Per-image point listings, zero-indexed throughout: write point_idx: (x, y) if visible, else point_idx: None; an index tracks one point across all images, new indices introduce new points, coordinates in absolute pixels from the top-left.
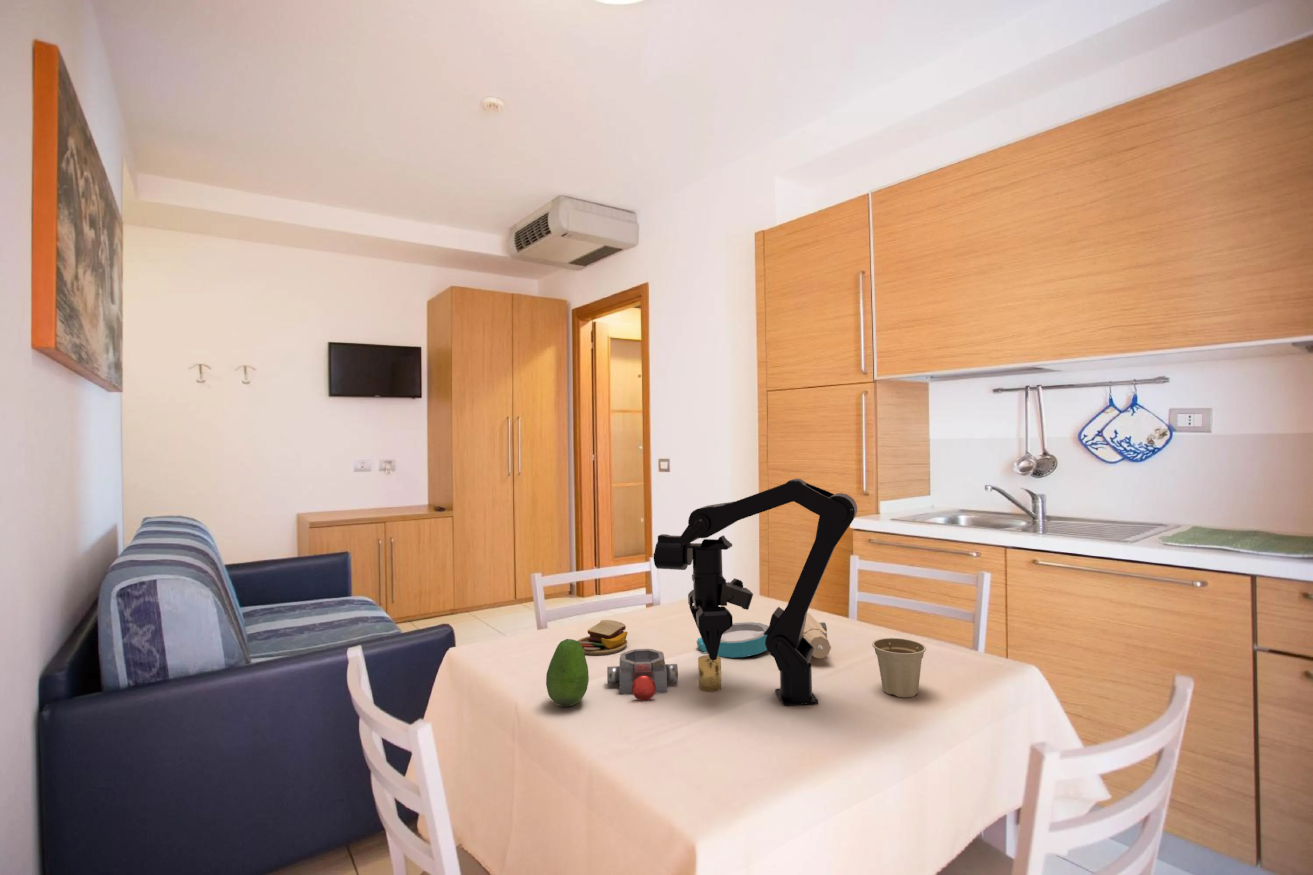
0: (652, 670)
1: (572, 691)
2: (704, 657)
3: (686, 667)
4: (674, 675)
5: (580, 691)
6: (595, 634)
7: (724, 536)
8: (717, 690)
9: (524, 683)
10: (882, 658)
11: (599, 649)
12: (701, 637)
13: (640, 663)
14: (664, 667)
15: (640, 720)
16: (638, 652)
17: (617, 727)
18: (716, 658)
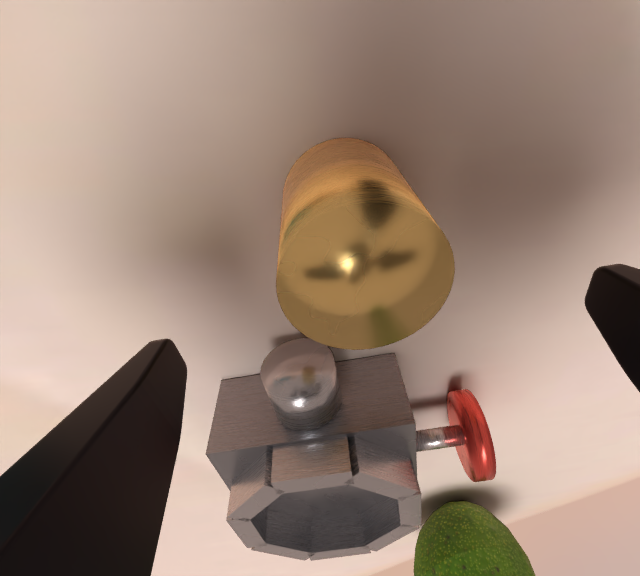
0: (406, 458)
1: (521, 548)
2: (335, 317)
3: (106, 318)
4: (335, 369)
5: (507, 535)
6: None
7: None
8: (391, 160)
9: (331, 565)
10: None
11: None
12: (177, 435)
13: (417, 514)
14: (369, 433)
15: (600, 385)
16: (262, 528)
17: (619, 419)
18: (631, 267)
